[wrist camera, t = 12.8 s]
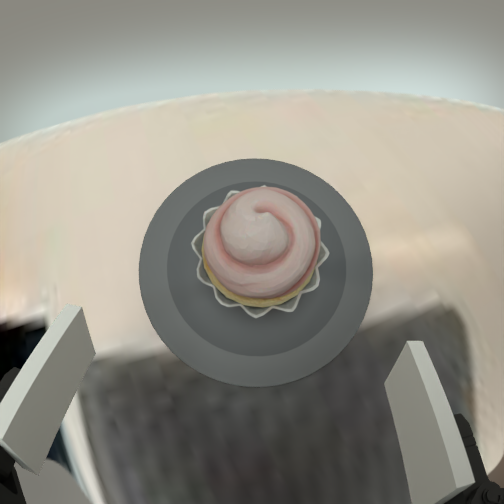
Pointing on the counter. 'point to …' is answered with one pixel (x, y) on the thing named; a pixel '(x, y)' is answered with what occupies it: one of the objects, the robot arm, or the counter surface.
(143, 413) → the counter surface
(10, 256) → the counter surface
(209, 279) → the cupcake
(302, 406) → the counter surface
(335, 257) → the slate plate
